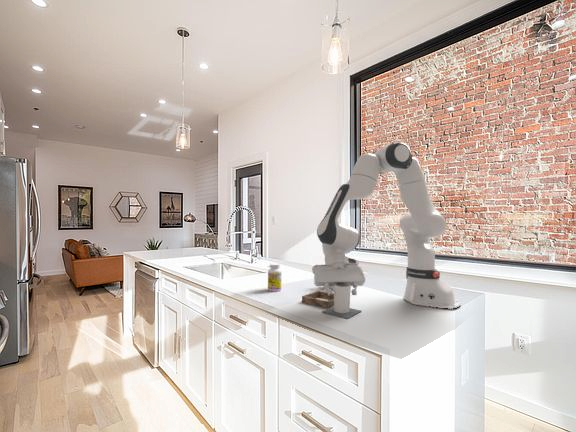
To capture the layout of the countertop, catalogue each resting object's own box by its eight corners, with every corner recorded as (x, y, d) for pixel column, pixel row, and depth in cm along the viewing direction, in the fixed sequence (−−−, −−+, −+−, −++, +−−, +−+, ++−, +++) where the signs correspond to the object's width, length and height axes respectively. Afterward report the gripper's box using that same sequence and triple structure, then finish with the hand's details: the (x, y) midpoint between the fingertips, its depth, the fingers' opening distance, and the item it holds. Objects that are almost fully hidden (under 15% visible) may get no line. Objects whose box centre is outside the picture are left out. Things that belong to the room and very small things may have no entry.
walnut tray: (344, 301, 131) (344, 295, 131) (328, 308, 121) (328, 302, 121) (318, 295, 140) (319, 290, 140) (302, 302, 130) (302, 296, 130)
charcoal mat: (361, 311, 118) (361, 310, 118) (347, 318, 109) (347, 317, 109) (336, 305, 125) (336, 304, 125) (321, 312, 116) (321, 311, 116)
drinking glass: (349, 314, 113) (349, 287, 113) (331, 312, 115) (331, 285, 115) (351, 309, 119) (352, 283, 119) (334, 307, 121) (335, 282, 121)
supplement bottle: (265, 289, 150) (265, 263, 150) (274, 287, 154) (275, 262, 154) (274, 292, 145) (274, 265, 145) (284, 290, 150) (284, 264, 150)
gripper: (312, 260, 123) (316, 290, 113) (361, 260, 125) (370, 289, 115) (310, 269, 127) (314, 299, 117) (358, 269, 129) (365, 298, 119)
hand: (342, 294), depth 116 cm, fingers open, 8 cm apart
